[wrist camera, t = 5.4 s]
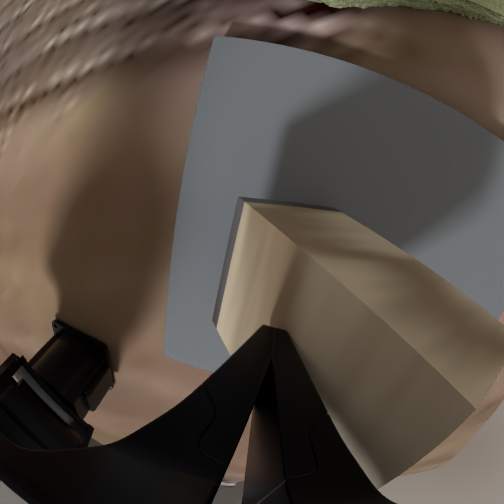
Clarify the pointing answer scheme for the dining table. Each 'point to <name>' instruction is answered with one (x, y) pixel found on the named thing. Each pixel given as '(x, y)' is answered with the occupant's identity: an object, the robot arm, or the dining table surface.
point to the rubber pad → (329, 175)
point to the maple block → (360, 328)
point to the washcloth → (435, 6)
